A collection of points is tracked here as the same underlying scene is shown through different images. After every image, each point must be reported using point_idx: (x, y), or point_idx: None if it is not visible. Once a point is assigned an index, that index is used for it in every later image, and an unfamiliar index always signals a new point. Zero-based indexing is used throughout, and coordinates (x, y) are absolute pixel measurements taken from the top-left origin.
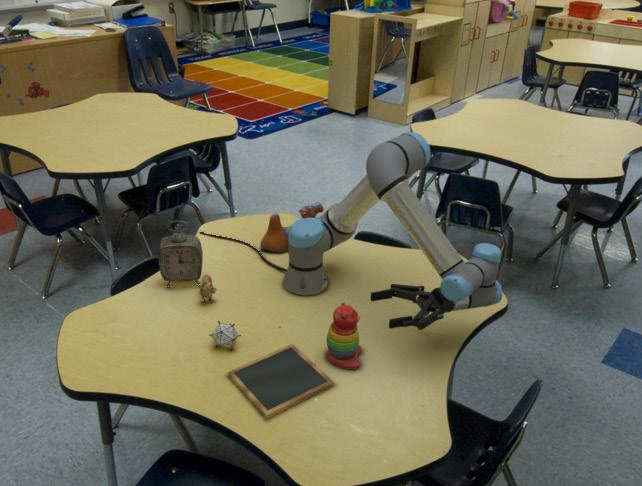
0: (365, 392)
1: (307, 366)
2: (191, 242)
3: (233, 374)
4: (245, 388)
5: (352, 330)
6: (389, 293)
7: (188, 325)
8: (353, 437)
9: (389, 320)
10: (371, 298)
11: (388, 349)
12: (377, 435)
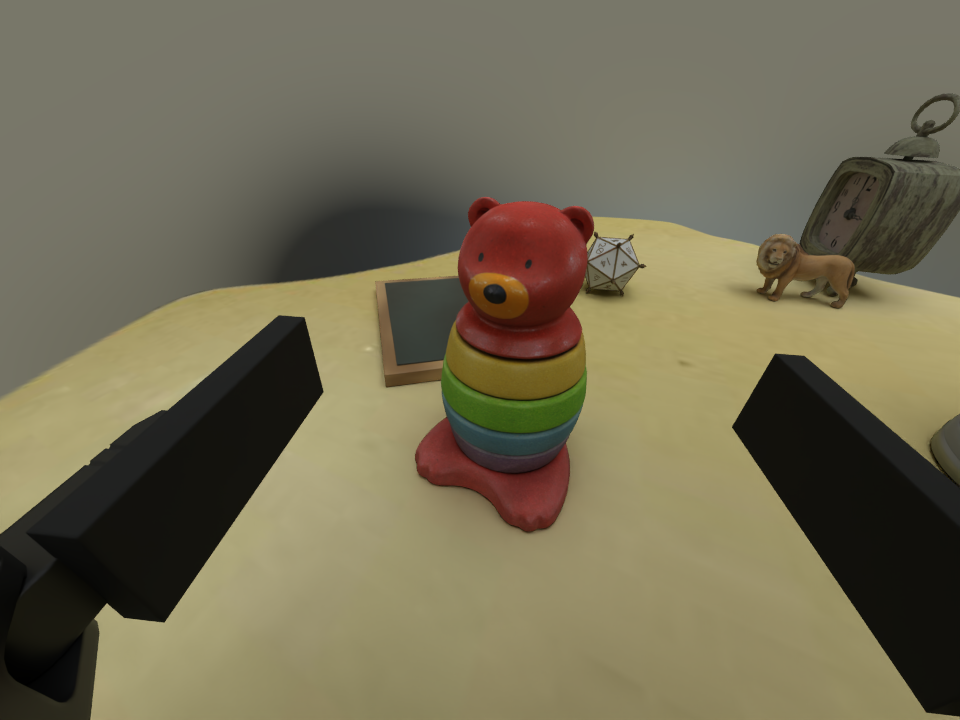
0: (296, 445)
1: None
2: (911, 165)
3: None
4: (458, 277)
5: (464, 321)
6: (953, 590)
7: (671, 272)
8: (198, 365)
9: (307, 331)
10: (750, 403)
11: (489, 702)
12: (136, 406)
